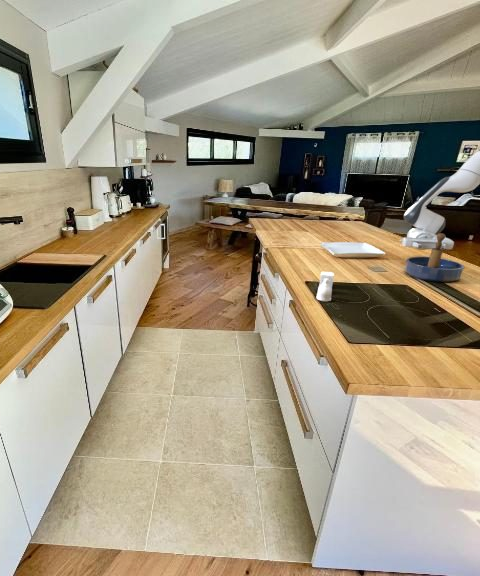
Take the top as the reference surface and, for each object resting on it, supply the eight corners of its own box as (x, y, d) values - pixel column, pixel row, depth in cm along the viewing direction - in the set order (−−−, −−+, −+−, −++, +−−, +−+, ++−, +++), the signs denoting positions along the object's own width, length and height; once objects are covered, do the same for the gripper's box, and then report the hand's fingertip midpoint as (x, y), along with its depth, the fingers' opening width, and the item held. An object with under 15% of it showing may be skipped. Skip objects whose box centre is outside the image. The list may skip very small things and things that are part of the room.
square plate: (364, 248, 191) (365, 241, 190) (385, 260, 166) (387, 252, 164) (318, 247, 194) (319, 241, 192) (332, 259, 168) (333, 252, 167)
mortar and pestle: (419, 270, 145) (429, 231, 139) (435, 271, 144) (446, 232, 137) (426, 275, 139) (437, 234, 132) (443, 275, 138) (454, 235, 131)
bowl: (450, 270, 147) (453, 258, 145) (468, 285, 129) (472, 271, 127) (399, 267, 154) (402, 255, 152) (410, 280, 136) (413, 266, 134)
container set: (319, 283, 134) (321, 271, 132) (332, 284, 132) (334, 272, 130) (315, 300, 117) (317, 286, 115) (330, 302, 115) (333, 288, 113)
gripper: (400, 233, 159) (406, 238, 147) (448, 235, 153) (459, 241, 140) (397, 245, 162) (403, 251, 150) (445, 248, 155) (455, 255, 143)
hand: (431, 246), depth 145 cm, fingers open, 8 cm apart
